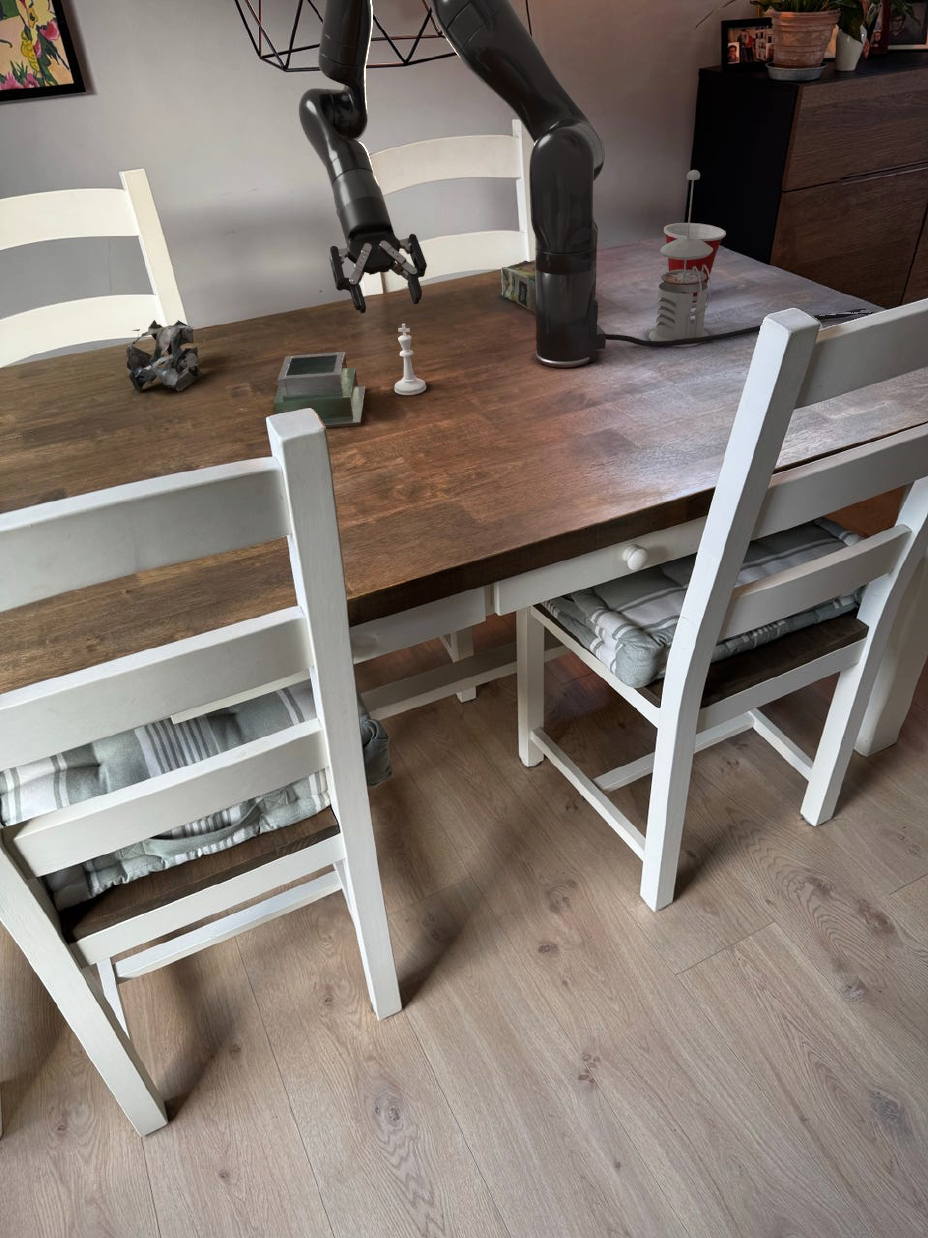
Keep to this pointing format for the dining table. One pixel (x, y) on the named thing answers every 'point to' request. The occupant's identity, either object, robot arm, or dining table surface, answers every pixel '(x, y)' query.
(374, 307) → the dining table surface
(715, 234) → the plastic cup
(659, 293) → the french press
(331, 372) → the stand
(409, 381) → the chess piece
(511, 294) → the juice carton
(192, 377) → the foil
